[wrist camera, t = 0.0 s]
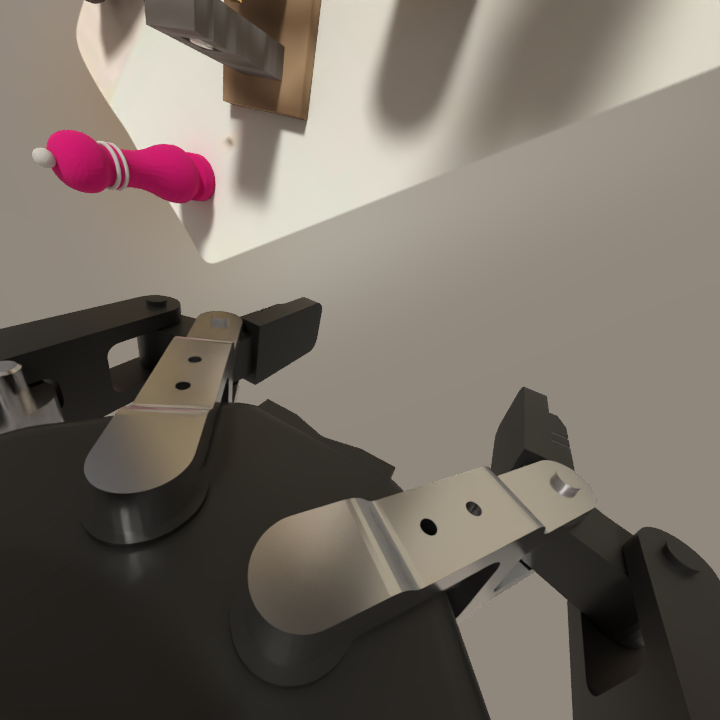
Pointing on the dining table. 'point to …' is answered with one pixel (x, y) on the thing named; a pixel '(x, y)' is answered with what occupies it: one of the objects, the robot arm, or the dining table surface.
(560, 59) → the dining table surface
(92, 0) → the perforated stone tool
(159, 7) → the shaft stand
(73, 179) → the pepper mill
